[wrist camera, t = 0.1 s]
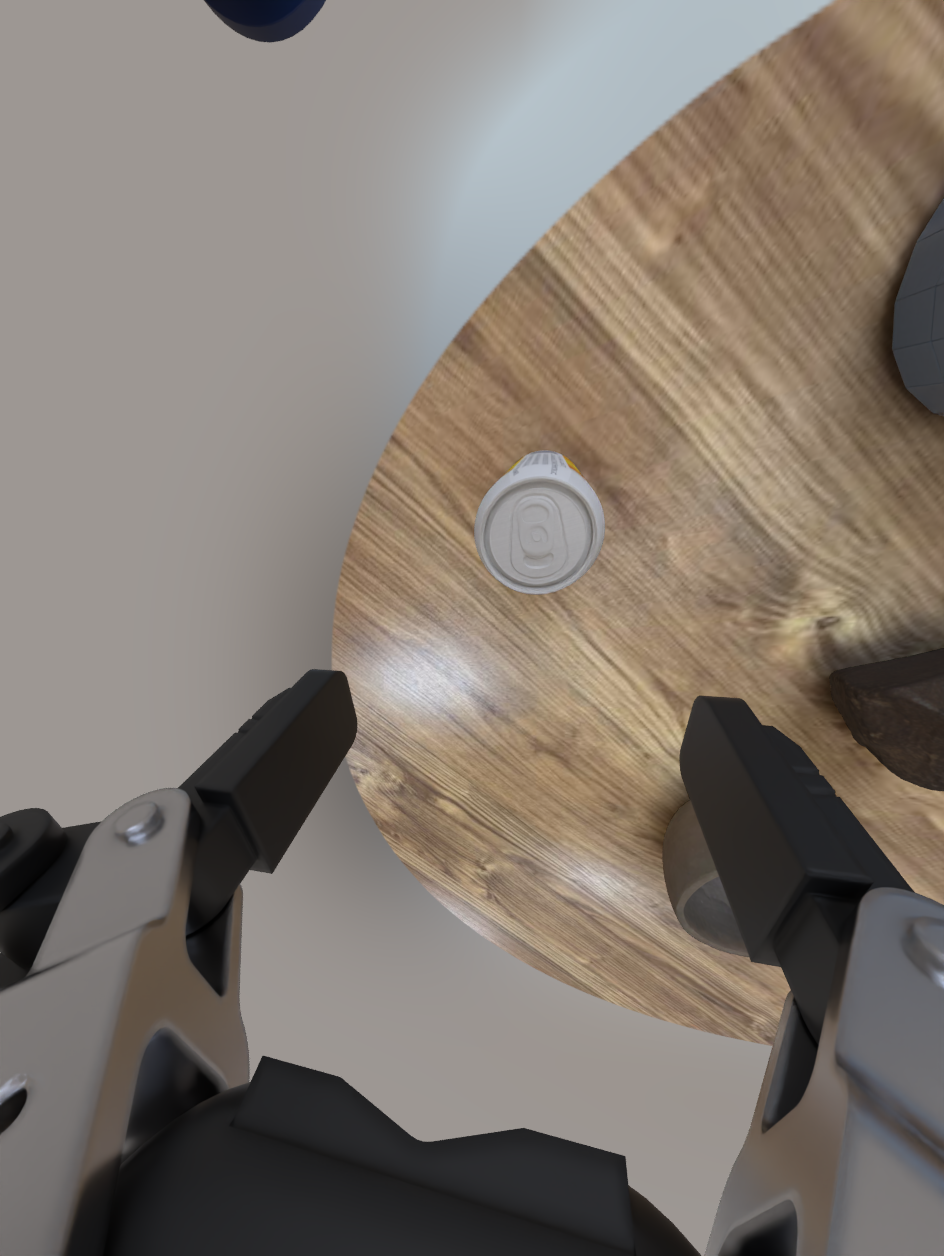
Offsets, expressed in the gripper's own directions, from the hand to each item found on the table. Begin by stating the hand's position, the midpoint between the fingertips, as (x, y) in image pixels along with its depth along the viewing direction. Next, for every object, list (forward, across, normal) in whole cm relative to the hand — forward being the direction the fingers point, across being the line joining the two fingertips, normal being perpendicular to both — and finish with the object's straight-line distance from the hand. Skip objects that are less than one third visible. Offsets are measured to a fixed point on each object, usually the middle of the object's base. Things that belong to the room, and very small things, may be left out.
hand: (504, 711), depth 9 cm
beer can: (+25, 0, -1) cm, 25 cm away
